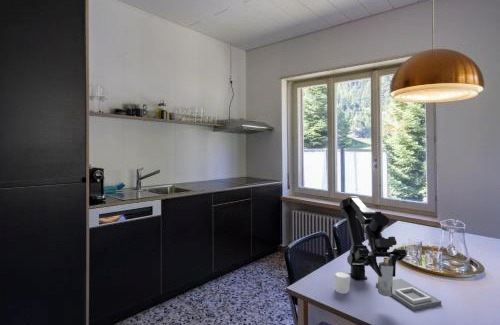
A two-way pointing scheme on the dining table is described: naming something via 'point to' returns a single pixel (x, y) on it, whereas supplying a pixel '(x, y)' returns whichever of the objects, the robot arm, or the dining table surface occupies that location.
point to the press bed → (412, 295)
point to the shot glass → (342, 282)
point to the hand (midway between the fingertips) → (387, 276)
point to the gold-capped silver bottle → (385, 278)
